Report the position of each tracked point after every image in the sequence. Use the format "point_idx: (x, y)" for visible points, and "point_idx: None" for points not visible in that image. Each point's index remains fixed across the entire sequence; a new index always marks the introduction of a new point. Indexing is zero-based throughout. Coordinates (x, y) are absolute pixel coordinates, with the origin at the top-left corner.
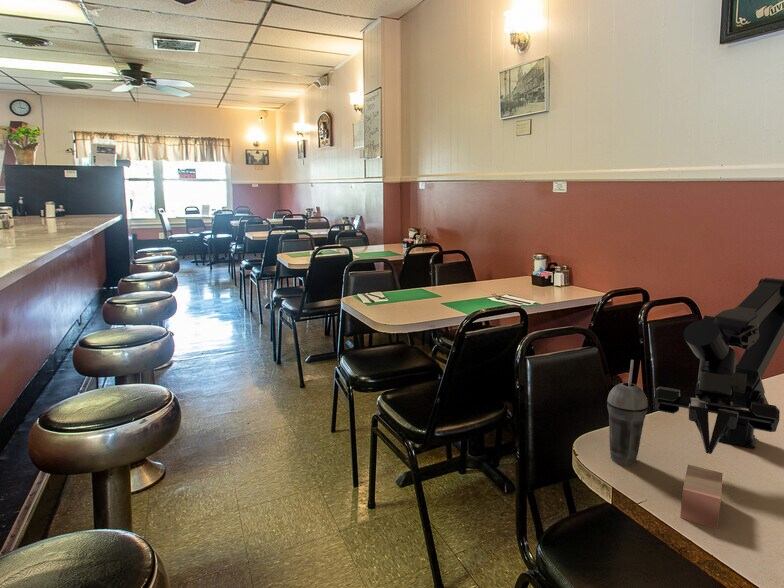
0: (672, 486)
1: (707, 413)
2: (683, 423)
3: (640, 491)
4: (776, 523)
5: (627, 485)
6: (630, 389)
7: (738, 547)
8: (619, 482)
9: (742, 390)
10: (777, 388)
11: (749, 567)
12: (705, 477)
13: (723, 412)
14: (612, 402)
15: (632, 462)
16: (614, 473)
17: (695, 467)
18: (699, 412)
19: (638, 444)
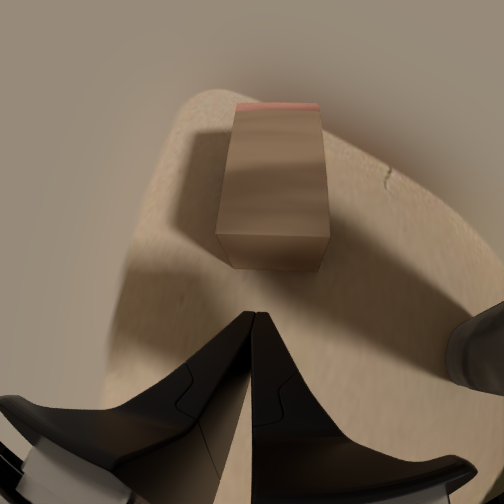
0: (349, 277)
1: (260, 467)
2: None
3: (404, 211)
4: (135, 230)
5: (431, 223)
6: None
7: (219, 126)
8: (447, 228)
9: None
10: None
11: (212, 100)
12: (270, 174)
13: (65, 437)
14: None
15: (454, 337)
16: (466, 264)
17: (303, 225)
18: (356, 463)
19: (481, 341)
